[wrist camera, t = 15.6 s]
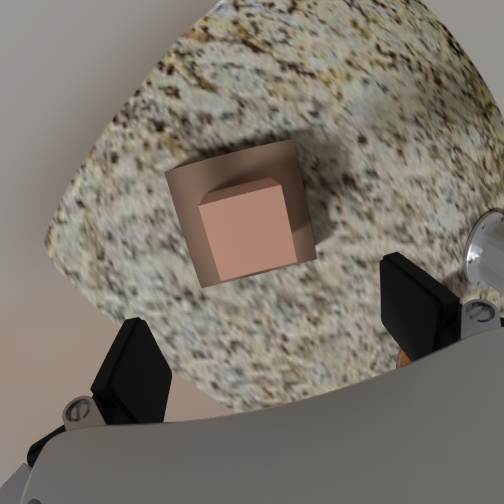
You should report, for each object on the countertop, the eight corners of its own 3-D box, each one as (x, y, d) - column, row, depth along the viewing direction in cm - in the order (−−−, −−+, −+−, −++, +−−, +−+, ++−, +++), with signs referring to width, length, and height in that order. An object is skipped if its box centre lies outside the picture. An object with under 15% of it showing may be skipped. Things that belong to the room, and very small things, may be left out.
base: (286, 139, 27) (293, 138, 24) (309, 248, 31) (317, 258, 28) (170, 169, 27) (164, 171, 24) (203, 275, 31) (201, 288, 29)
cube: (269, 177, 25) (280, 184, 20) (283, 238, 27) (297, 261, 22) (205, 193, 25) (198, 206, 20) (222, 253, 28) (221, 280, 22)
